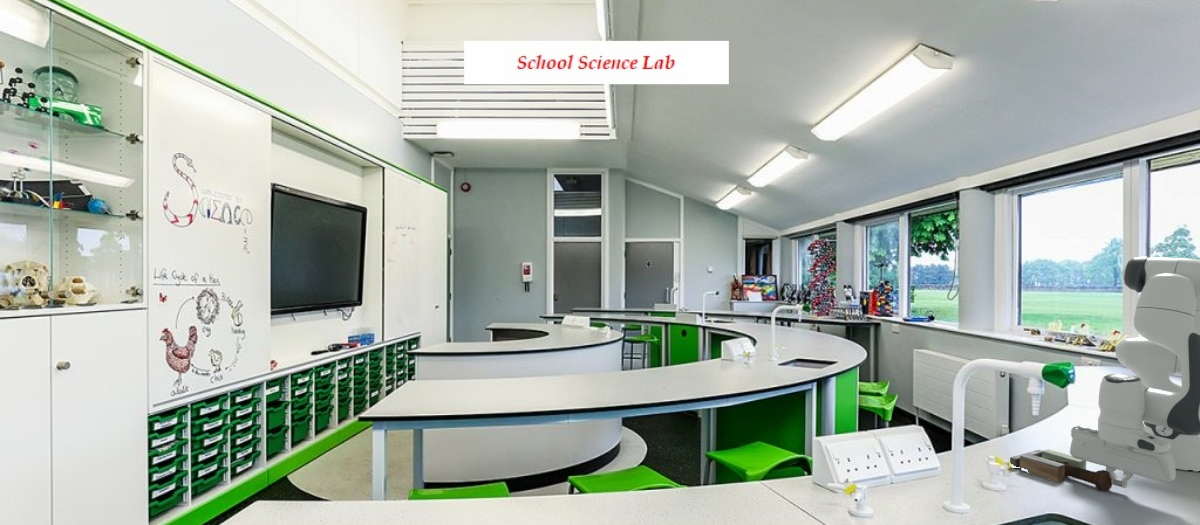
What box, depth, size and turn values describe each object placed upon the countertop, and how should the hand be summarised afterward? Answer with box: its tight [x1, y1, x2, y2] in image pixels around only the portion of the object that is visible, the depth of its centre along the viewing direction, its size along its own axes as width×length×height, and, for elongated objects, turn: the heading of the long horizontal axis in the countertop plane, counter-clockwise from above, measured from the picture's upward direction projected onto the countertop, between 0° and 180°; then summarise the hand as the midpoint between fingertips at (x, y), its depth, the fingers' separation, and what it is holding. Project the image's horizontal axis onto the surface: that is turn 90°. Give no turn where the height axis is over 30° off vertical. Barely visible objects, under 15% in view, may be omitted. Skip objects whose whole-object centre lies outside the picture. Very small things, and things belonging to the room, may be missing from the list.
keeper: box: [1009, 449, 1087, 483], centre depth 152 cm, size 17×12×4 cm
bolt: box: [1045, 458, 1113, 492], centre depth 146 cm, size 6×5×15 cm
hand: (1119, 485), depth 138 cm, fingers closed
